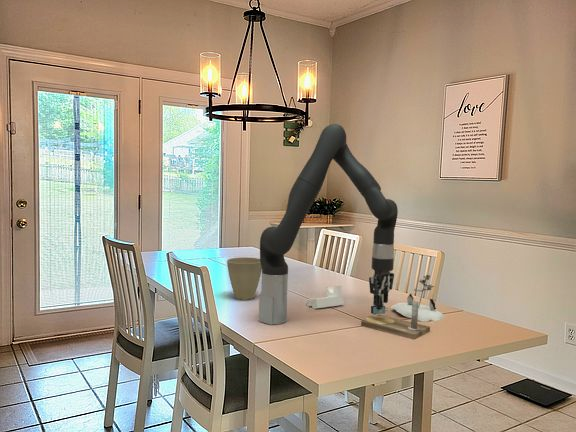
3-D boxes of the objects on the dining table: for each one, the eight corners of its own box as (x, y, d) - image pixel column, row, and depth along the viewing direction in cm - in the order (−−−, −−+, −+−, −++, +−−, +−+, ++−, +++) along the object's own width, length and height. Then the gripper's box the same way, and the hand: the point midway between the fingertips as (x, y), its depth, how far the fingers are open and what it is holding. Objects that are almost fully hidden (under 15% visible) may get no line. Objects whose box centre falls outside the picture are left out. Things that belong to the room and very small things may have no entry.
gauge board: (413, 339, 162) (415, 307, 161) (358, 325, 176) (359, 295, 175) (429, 331, 171) (431, 301, 170) (376, 318, 185) (377, 290, 184)
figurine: (381, 309, 194) (387, 268, 191) (408, 303, 206) (414, 265, 203) (425, 327, 179) (432, 283, 177) (452, 319, 191) (459, 278, 189)
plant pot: (243, 292, 219) (244, 255, 217) (269, 298, 209) (270, 260, 208) (218, 297, 207) (219, 259, 206) (244, 304, 198) (245, 264, 196)
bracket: (333, 304, 206) (331, 286, 207) (343, 304, 200) (341, 285, 201) (307, 308, 199) (305, 289, 200) (317, 308, 193) (315, 288, 194)
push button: (383, 310, 182) (384, 283, 181) (392, 314, 177) (392, 286, 176) (367, 312, 179) (368, 284, 178) (376, 316, 174) (376, 288, 173)
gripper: (382, 260, 167) (379, 309, 169) (402, 255, 178) (399, 302, 180) (362, 257, 172) (360, 305, 174) (383, 252, 183) (381, 298, 185)
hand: (380, 303), depth 177 cm, fingers closed on push button, 5 cm apart
